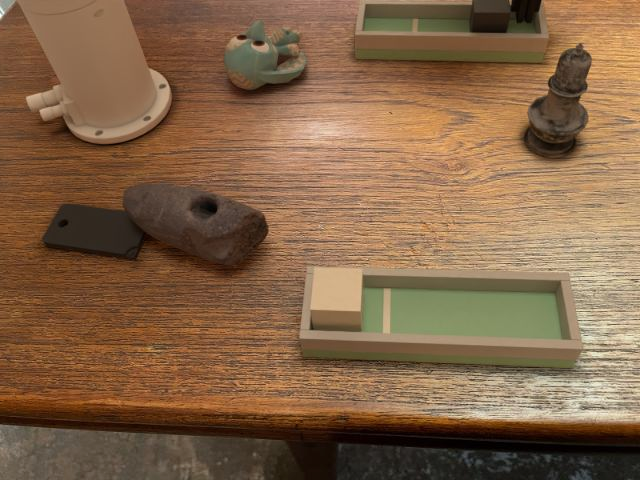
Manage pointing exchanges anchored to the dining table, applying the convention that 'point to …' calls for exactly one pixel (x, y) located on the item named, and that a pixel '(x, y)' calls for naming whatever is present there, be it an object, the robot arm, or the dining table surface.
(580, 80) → the chess piece
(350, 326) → the beige cube
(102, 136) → the robot arm
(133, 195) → the perforated stone tool
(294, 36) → the teal creature figurine
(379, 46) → the green beige rectangular tray
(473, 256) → the dining table surface
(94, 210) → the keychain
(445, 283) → the tray
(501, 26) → the dark brown cube
